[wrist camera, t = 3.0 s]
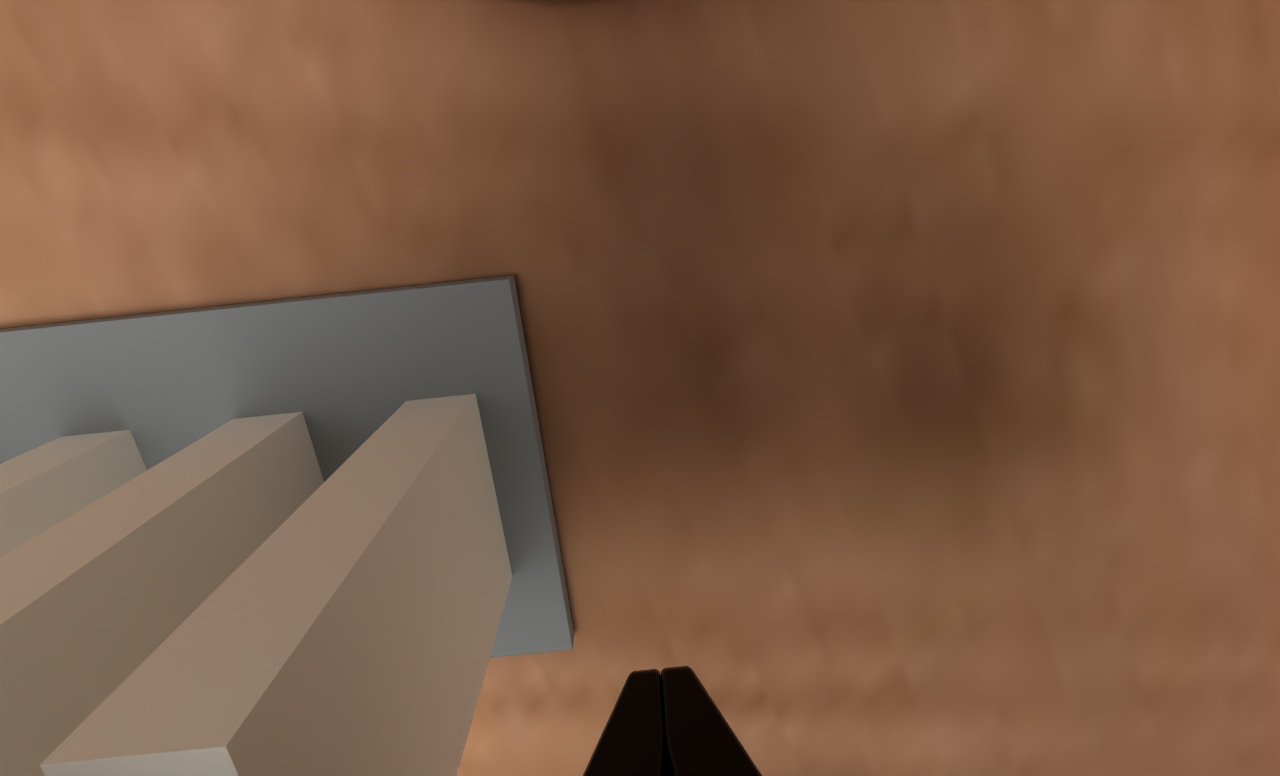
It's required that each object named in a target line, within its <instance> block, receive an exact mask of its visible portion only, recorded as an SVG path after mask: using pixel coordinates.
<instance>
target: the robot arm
mask: <svg viewBox="0 0 1280 776" xmlns="http://www.w3.org/2000/svg"><path fill="white" fill-rule="evenodd" d="M583 776H762V775H761V773H760V772H759V770H758V769H757V767H756V766H755V764H754V763H753V761H752V760H751V758H750V757H749V755H748V753H747V752H746V750H745V749H744V747H743V746H742V744H741V743H740V741H739V740H738V738H737V737H736V735H735V734H734V732H733V731H732V729H731V728H730V726H729V725H728V723H727V722H726V720H725V718H724V717H723V715H722V714H721V712H720V711H719V709H718V708H717V706H716V705H715V703H714V702H713V700H712V699H711V697H710V696H709V694H708V693H707V691H706V690H705V688H704V687H703V685H702V683H701V682H700V680H699V679H698V677H697V676H696V674H695V673H694V671H693V670H692V669H691V668H690V667H688V666H681V667H670V668H664V669H663V670H662V671H661V675H660V672H659V671H658V670H657V669H650V670H641V671H633V672H632V673H630V675H629V676H628V678H627V680H626V682H625V685H624V687H623V689H622V691H621V693H620V696H619V698H618V700H617V702H616V704H615V707H614V709H613V711H612V713H611V715H610V717H609V720H608V722H607V724H606V726H605V728H604V731H603V733H602V735H601V737H600V739H599V742H598V744H597V746H596V748H595V750H594V752H593V755H592V757H591V759H590V761H589V763H588V766H587V768H586V770H585V772H584V774H583Z"/></svg>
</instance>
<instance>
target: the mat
mask: <svg viewBox="0 0 1280 776" xmlns="http://www.w3.org/2000/svg"><path fill="white" fill-rule="evenodd" d="M468 394H476V398H477V403H478V408H479V413H480V418H481V423H482V428H483V433H484V438H485V443H486V448H487V453H488V458H489V463H490V468H491V472H492V477H493V482H494V487H495V492H496V497H497V502H498V507H499V512H500V517H501V522H502V527H503V532H504V537H505V542H506V547H507V551H508V556H509V561H510V566H511V571H512V576H513V577H512V580H511V584H510V587H509V591H508V594H507V598H506V602H505V605H504V609H503V612H502V616H501V619H500V623H499V626H498V630H497V633H496V637H495V641H494V644H493V648H492V651H491V655H490V658H493V657H503V656H513V655H523V654H533V653H543V652H552V651H562V650H572V649H573V639H574V630H573V624H572V618H571V612H570V606H569V600H568V594H567V588H566V582H565V576H564V570H563V565H562V559H561V553H560V547H559V541H558V535H557V529H556V523H555V517H554V511H553V505H552V499H551V493H550V487H549V481H548V475H547V470H546V464H545V458H544V452H543V446H542V440H541V434H540V428H539V422H538V416H537V410H536V404H535V398H534V392H533V386H532V380H531V375H530V369H529V363H528V357H527V351H526V345H525V339H524V333H523V327H522V321H521V315H520V309H519V303H518V297H517V291H516V285H515V280H514V275H510V276H500V277H491V278H481V279H472V280H462V281H453V282H443V283H434V284H424V285H415V286H405V287H395V288H386V289H376V290H367V291H357V292H348V293H338V294H329V295H319V296H310V297H300V298H291V299H281V300H272V301H262V302H253V303H243V304H234V305H224V306H214V307H205V308H195V309H186V310H176V311H167V312H157V313H148V314H138V315H129V316H119V317H110V318H100V319H91V320H81V321H72V322H62V323H53V324H43V325H33V326H24V327H14V328H5V329H0V464H1V463H3V462H6V461H8V460H10V459H12V458H15V457H17V456H19V455H21V454H24V453H26V452H28V451H30V450H33V449H35V448H37V447H39V446H42V445H44V444H46V443H48V442H50V441H53V440H55V439H57V438H59V437H64V436H73V435H83V434H92V433H102V432H112V431H121V430H130V431H131V433H132V436H133V438H134V441H135V443H136V445H137V448H138V450H139V453H140V455H141V458H142V460H143V462H144V465H145V467H146V470H149V469H150V468H152V467H154V466H155V465H157V464H159V463H160V462H162V461H164V460H165V459H167V458H169V457H170V456H172V455H174V454H175V453H177V452H179V451H180V450H182V449H184V448H186V447H187V446H189V445H191V444H192V443H194V442H196V441H197V440H199V439H201V438H202V437H204V436H206V435H207V434H209V433H211V432H212V431H214V430H216V429H217V428H219V427H221V426H222V425H224V424H226V423H227V422H229V421H231V420H232V419H237V418H247V417H256V416H266V415H276V414H285V413H295V412H303V415H304V418H305V422H306V425H307V428H308V431H309V435H310V438H311V441H312V444H313V448H314V451H315V454H316V457H317V461H318V464H319V467H320V470H321V474H322V477H323V480H324V482H325V481H326V480H327V479H328V478H329V477H330V476H331V475H332V474H333V473H334V472H335V471H336V470H337V469H338V468H339V467H340V466H341V465H342V464H343V463H344V462H345V461H346V460H347V459H348V458H349V457H350V456H351V455H352V454H353V453H354V452H355V451H356V450H357V449H358V448H359V447H360V446H361V445H362V444H363V443H364V442H365V441H366V440H367V439H368V438H369V437H370V436H371V435H372V434H373V433H374V432H375V431H376V430H377V429H378V428H379V427H380V426H381V425H383V424H384V423H385V422H386V421H387V420H388V419H389V418H390V417H391V416H392V415H393V414H394V413H395V412H396V411H397V410H398V409H399V408H400V407H401V406H402V405H403V404H404V403H405V402H406V401H410V400H420V399H430V398H439V397H449V396H459V395H468Z"/></svg>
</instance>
